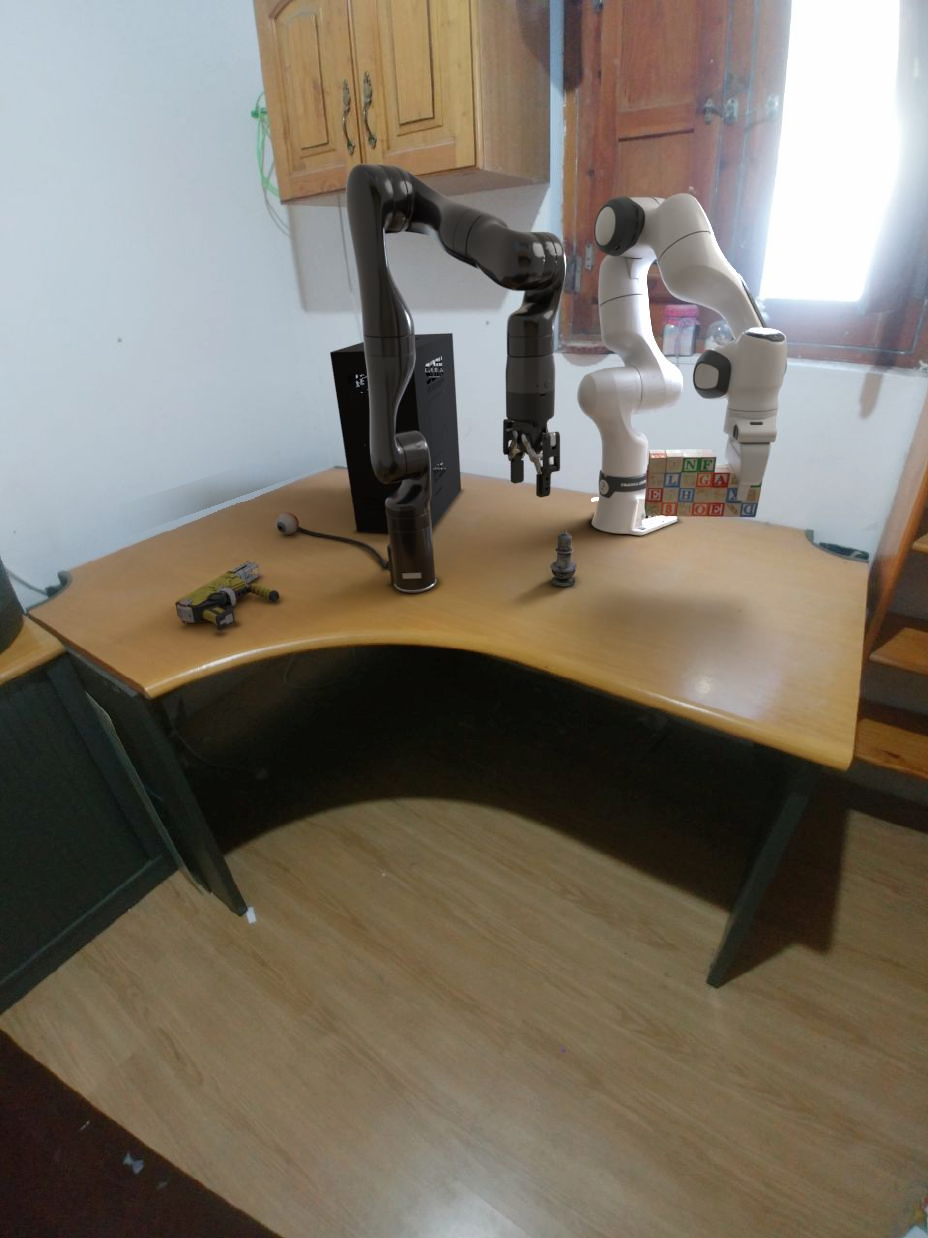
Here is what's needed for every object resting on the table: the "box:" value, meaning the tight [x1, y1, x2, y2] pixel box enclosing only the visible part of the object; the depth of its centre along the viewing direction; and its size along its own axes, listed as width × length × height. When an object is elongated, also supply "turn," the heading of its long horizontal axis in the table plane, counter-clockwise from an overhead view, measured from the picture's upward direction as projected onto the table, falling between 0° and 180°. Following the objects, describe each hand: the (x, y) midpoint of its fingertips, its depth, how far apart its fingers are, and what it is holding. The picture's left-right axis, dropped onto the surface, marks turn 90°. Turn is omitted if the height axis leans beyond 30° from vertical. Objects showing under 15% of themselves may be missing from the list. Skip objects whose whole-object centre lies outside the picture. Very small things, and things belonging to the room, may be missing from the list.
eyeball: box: [275, 511, 300, 536], centre depth 163 cm, size 6×6×6 cm
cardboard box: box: [329, 332, 462, 534], centre depth 166 cm, size 38×20×45 cm, turn 167°
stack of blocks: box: [644, 448, 764, 518], centre depth 122 cm, size 21×6×12 cm, turn 78°
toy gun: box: [174, 560, 280, 631], centre depth 130 cm, size 5×24×15 cm
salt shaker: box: [549, 529, 578, 587], centre depth 129 cm, size 6×6×12 cm
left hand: (529, 489), depth 100 cm, fingers open, 8 cm apart
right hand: (737, 493), depth 122 cm, fingers closed on stack of blocks, 6 cm apart
